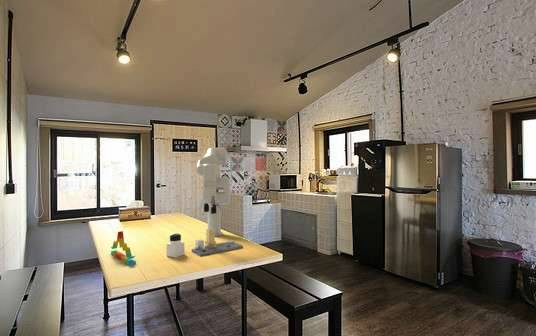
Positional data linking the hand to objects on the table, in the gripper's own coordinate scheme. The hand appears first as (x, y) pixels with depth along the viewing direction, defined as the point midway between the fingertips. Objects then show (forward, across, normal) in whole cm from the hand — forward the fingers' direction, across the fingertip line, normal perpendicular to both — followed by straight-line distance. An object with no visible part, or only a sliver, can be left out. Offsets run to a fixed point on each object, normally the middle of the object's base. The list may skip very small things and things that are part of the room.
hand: (210, 212), depth 183 cm
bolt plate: (+22, +3, +3) cm, 23 cm away
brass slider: (+20, +2, 0) cm, 20 cm away
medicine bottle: (+23, -2, -21) cm, 31 cm away
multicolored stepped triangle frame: (+23, -14, -46) cm, 53 cm away
